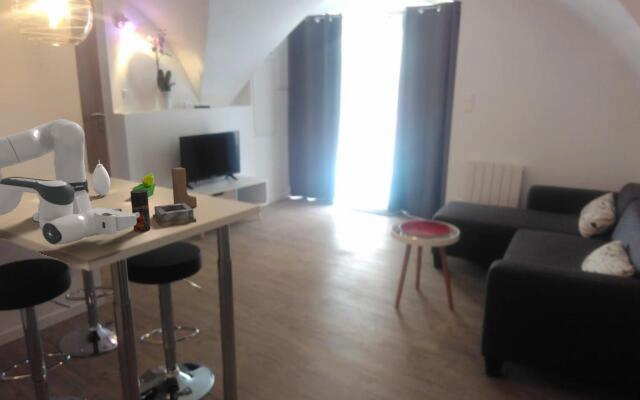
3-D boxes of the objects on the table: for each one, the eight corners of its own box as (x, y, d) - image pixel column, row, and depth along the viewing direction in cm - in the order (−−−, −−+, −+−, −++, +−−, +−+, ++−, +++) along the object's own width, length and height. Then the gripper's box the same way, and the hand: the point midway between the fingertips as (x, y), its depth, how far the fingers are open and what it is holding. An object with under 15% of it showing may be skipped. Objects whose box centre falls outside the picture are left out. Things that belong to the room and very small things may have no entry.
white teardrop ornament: (96, 198, 223) (92, 160, 219) (91, 195, 229) (87, 158, 225) (113, 195, 228) (110, 159, 224) (108, 192, 234) (104, 157, 230)
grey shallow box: (160, 226, 182) (159, 214, 181) (152, 217, 194) (151, 206, 192) (196, 221, 189) (195, 210, 188) (186, 212, 201) (186, 202, 199)
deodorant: (153, 228, 179) (150, 190, 175) (142, 233, 174) (138, 193, 170) (142, 226, 182) (139, 188, 178) (130, 230, 176) (126, 191, 173)
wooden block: (192, 204, 214) (189, 165, 209) (197, 206, 211) (195, 167, 206) (173, 208, 208) (171, 168, 203) (178, 210, 205) (176, 169, 200)
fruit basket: (141, 193, 234) (139, 171, 231) (159, 193, 234) (157, 171, 231) (132, 198, 223) (130, 175, 220) (150, 199, 223) (148, 176, 220)
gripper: (76, 225, 165) (110, 216, 176) (116, 235, 155) (149, 224, 167) (74, 208, 163) (109, 200, 175) (114, 217, 154) (148, 207, 165)
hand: (129, 212), depth 171 cm, fingers open, 8 cm apart
